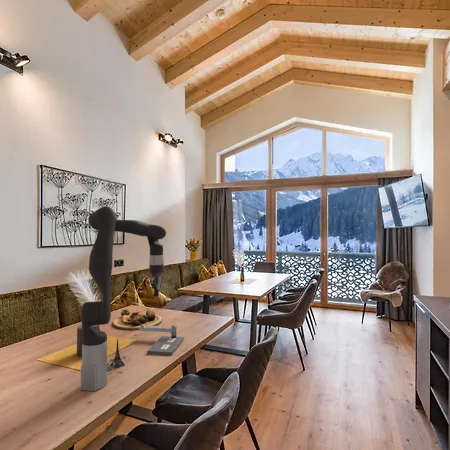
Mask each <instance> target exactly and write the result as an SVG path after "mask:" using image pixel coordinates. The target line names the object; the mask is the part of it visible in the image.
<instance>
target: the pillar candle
mask: <svg viewBox="0 0 450 450" xmlns="http://www.w3.org/2000/svg"><path fill="white" fill-rule="evenodd" d="M92 327H93V328H95V329H96V330H98V329H99V328H98V327H99V325H92ZM75 353H76V356H78V357H81V358H82V324H79V325H78V326H76V352H75Z"/></svg>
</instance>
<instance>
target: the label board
mask: <svg viewBox="0 0 450 450" xmlns="http://www.w3.org/2000/svg"><path fill="white" fill-rule="evenodd" d="M183 340H184V341H185V336H176V338H171V336H170V335H169V336H168V335H162V336H161V337H160V338H159V339H157V340H156V341H155V342H154V343H153V344H152V345H151V346H150V347H149V348H148V349H147V351H146V354H147V355H162V356H173V355H174V353H176V351H177V350H178V349H179V347H180V346H181V344H182V343H183V342H184V341H183Z"/></svg>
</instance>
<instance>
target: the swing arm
mask: <svg viewBox="0 0 450 450" xmlns="http://www.w3.org/2000/svg"><path fill="white" fill-rule="evenodd" d="M138 331H139V332H153V333H154V332H156V333H157V332H158V333H171V338H176V337H177V325H176V324H172V325H171V326H169V325H166V326H164V325H157V326H149V325H145V324H142V325H141V326H140V327H139V330H138Z"/></svg>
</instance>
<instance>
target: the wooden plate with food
mask: <svg viewBox="0 0 450 450" xmlns="http://www.w3.org/2000/svg"><path fill="white" fill-rule="evenodd" d="M120 315H121V316H119V317H116V318H115V319H114V320H113V321H112V326H113V327H114V328H116V329H117V330H124V331H139V327H140V326H141V325H142V324H145V325H149V326H160V325H161V323H162V321H163V318H162V317H161V316H160V315H158V314H156V313H155V310H154V309H152V308H150V307H149V308H147V310H146V312H145V313H144V312H140V311H137V310H136V311H133V312H132V313H131V312H130V310H129V309H127V308H124V309H122V311H121V312H120Z"/></svg>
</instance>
